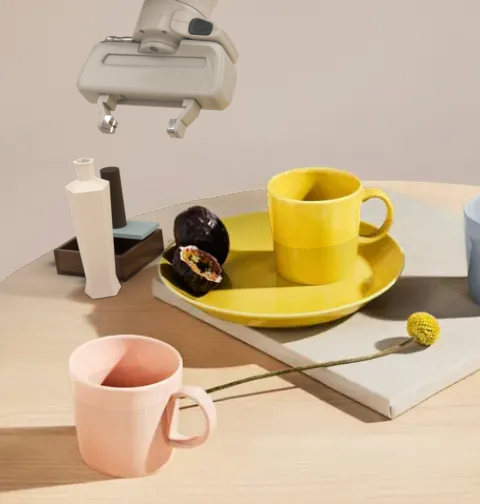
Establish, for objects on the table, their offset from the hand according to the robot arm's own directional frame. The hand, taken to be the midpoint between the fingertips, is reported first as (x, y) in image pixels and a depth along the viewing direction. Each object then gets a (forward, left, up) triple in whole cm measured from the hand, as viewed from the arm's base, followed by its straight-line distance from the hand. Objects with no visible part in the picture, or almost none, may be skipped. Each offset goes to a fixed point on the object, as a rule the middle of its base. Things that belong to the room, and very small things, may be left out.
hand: (139, 133), depth 115 cm
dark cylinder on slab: (0, -8, -10) cm, 12 cm away
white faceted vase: (+3, -17, -13) cm, 22 cm away
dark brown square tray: (0, -10, -13) cm, 16 cm away
